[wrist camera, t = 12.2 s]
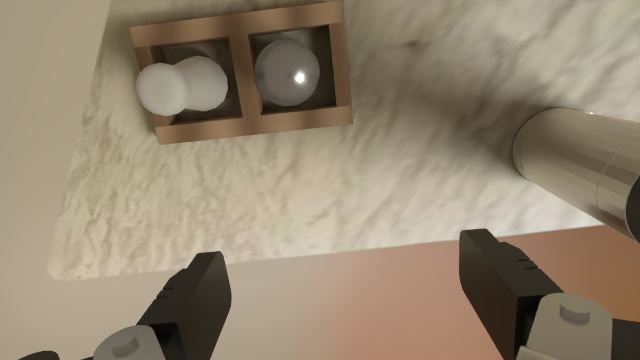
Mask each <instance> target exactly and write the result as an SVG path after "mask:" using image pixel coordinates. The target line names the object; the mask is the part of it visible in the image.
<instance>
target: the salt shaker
mask: <svg viewBox="0 0 640 360" xmlns="http://www.w3.org/2000/svg"><path fill="white" fill-rule="evenodd" d="M135 88H136V93H137V97H138V99H139V100H140V102H141V103H142V105H143V107H145V108H146V109H147V110H149V111H150V112H152V113H153V114H158V115H163V116H170V115H174V114H177V113H180V112H181V111H182V110H183V109H184V108H185V109H192V110H198V111H207V110H211V109H214V108H216V107H217V106H218V105H219V104H221V103H222V102H223V101H224V99H225V96H226V93H227V90H228V83H227V76H226V74H225V73H224V71H223V69H222V68H221V66H220V65H218V64H217V63H216V62H214V61H213V60H212V59H210V58H207V57H202V56H194V57H190V58H187V59H184V60H182V61H180V62H178V63H177V64H175V65H170V64H165V63H157V64H153V65H149V66H147V67H145V68H144V69H143V70H142V71H141V72H140V73H139V74H138V77H137V81H136V84H135Z"/></svg>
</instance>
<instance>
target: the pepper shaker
mask: <svg viewBox="0 0 640 360" xmlns="http://www.w3.org/2000/svg"><path fill="white" fill-rule="evenodd" d="M319 77H320V64H319V61H318V59H317V57H316V56H315V54H314V53H313V52H312V51H311V50H310V49H308V48H307V47H306V46H305V45H303V44H302V43H300V42H297V41H295V40H290V39H282V40H277V41H274V42H272V43H270V44H269V45H267V46H266V47H265V48H264V49H263V50H262V51H261V53H260V54H259V56H258V58H257V61H256V64H255V79H256V83H257V86H258V88H259V90H260V91H261V93H262V94H263V95H264V96H265V97H266V98H267V99H268V100H270V101H271V102H273V103H275V104H278V105H282V106H294V105H297V104H300V103H302V102H304V101H305V100H307V99H308V98H309V97H310V96H311V95H312V93H313V92H314V90H315V88H316V86H317V83H318V80H319Z"/></svg>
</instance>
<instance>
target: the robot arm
mask: <svg viewBox="0 0 640 360" xmlns="http://www.w3.org/2000/svg"><path fill="white" fill-rule="evenodd" d="M512 155H513V161H514V165H515V167H516V168H517V170H518V172H519V173H520V174H521V175H522V176H523V177H525V178H527V179H528V180H530V181H532V182H533V183H535V184H537V185H539V186H540V187H542V188H543V189H545V190H547V191H548V192H550V193H552V194H554V195H555V196H557V197H559V198H560V199H562V200H564V201H566V202H567V203H569V204H571V205H573V206H574V207H576V208H578V209H579V210H581V211H583V212H585V213H586V214H588V215H590V216H592V217H593V218H595V219H597V220H598V221H600V222H602V223H604V224H605V225H607V226H609V227H611V228H612V229H614V230H616V231H618V232H619V233H621V234H623V235H625V236H626V237H628V238H630V239H632V240H633V241H635V242H637V243H638V244H640V123H638V122H633V121H628V120H623V119H617V118H612V117H607V116H602V115H597V114H592V113H587V112H582V111H577V110H572V109H566V108H553V109H548V110H545V111H542V112H540V113H538V114H536V115H534V116H533V117H532V118H531V119H529V120H528V121H527V122H526V123H525V124H524V125H523V126H522V127H521V129H520V130H519V132H518V134H517V135H516V138H515V140H514V143H513V149H512ZM459 247H460V248H459V276H460V282H461V286H462V289H463V291H464V293H465V295H466V296H467V298H468V300H469V301H470V303H471V305H472V306H473V308H474V310H475V312H476V313H477V315H478V317H479V318H480V320H481V322H482V323H483V325H484V327H485V329H486V330H487V332H488V334H489V335H490V337H491V339H492V340H493V342H494V344H495V346H496V347H497V349H498V351H499V352H500V354H501V356H502V357H503V359H504V360H640V322H635V321H627V320H619V319H613V318H612V317H611V315H610V314H609V312H608V311H607V310H606V309H605V308H603V307H602V306H601V305H599V304H598V303H596V302H594V301H592V300H590V299H588V298H585V297H582V296H579V295H574V294H569V293H564V292H563V291H562V290H561V289H560V288H559V287H558V286H557V285H556V284H555V283H554V282H553V281H552V280H551V279H550V278H549V277H548V276H547V275H546V274H545V273H544V272H543V271H542V270H541V269H538V266H537V265H535V263H534V262H533V261H530V258H529V257H528V256H527V255H526V254H525V253H523V252H522V251H521V250H520V249H519V248H517V247H514V246H513V245H510V244H508V243H507V242H499V241H498V240H497V239H496V238H495V237H494V236H493V235H492V234H491V233H490V232H489V231H488V230H487V229H485V228H484V229H473V230H462V231H461V233H460V242H459ZM156 298H157V299H155V300H154V301H153V302H152V304H151V305H150V306H149V308H148V309H147V310H146V312H145V313H144V315H143V316H142V317H141V319H140V320H139V321H138V323H137V324H136V326H131V327H127V328H125V329H122V330H120V331H118V332H116V333H114V334H112V335H111V336H109V337H108V338H107V339H105V340H104V341H103V342H102V343H101V344H100V345H99V346H98V347H97V349H96V350H95V352H94V355H93V356H92V357H89V358H86V359H82V360H210V358H211V355H212V353H213V350H214V348H215V345H216V343H217V340H218V338H219V335H220V333H221V330H222V328H223V325H224V323H225V320H226V318H227V315H228V313H229V310H230V307H231V288H230V284H229V279H228V275H227V270H226V265H225V261H224V257H223V254H222V253H221V252H220V251H216V252H205V253H198V254H197V255H196V256H195V257H194V259H193V260H192V262H191V263H190V265H189V266H188V268H186V269H182V270H180V271H179V272H178V273H177V274H176V275H174V276H173V277H171V278H170V279H169V280H168V282H167V283H166V285H165V286H164V287H163V290H162V291H160V293H159V294H158V295H157V297H156ZM19 360H60V359H59V356H58V354H57V353H56V352H53V351H41V352H37V353H33V354H30V355H28V356H25V357H23V358H21V359H19Z"/></svg>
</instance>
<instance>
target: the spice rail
mask: <svg viewBox="0 0 640 360" xmlns="http://www.w3.org/2000/svg"><path fill="white" fill-rule="evenodd" d="M322 27H329V36H330V46H331V57H332V67H333V78H334V88H335V98H336V104H333V105H324V106H315V107H306V108H297V109H288V110H279V111H270V112H265V108H264V102H263V96H262V93H261V91H260V90H259V88H258V86H257V83H256V79H255V64H256V61H257V58H256V51H255V45H254V39H253V36H256V35H265V34H273V33H281V32H289V31H297V30H305V29H314V28H322ZM129 29H130V33H131V37H132V41H133V45H134V49H135V53H136V57H137V60H138V64H139V68H140V72H141V71H142V70H143V69H144V68H145V67H147V66H149V65H153V64H157V63H165V59H164V55H163V51H162V47H167V46H175V45H183V44H191V43H199V42H207V41H216V40H224V39H229V43H230V48H231V54H232V60H233V65H234V71H235V76H236V82H237V88H238V93H239V99H240V104H241V110H242V115H235V116H226V117H217V118H208V119H199V120H190V121H181V122H179V119H178V115H177V114H174V115H170V116H163V115H158V114H153V113H152V112H151V115H152V119H153V123H154V127H155V131H156V134H157V138H158V142H159V145H164V144H173V143H182V142H191V141H200V140H210V139H219V138H228V137H237V136H246V135H255V134H265V133H274V132H283V131H292V130H301V129H310V128H320V127H329V126H338V125H347V124H353V117H352V105H351V93H350V81H349V69H348V57H347V45H346V33H345V21H344V9H343V0H340V1H333V2H325V3H317V4H309V5H301V6H293V7H285V8H277V9H269V10H261V11H253V12H245V13H237V14H229V15H221V16H213V17H206V18H198V19H190V20H182V21H174V22H166V23H158V24H150V25H142V26H134V27H129ZM165 64H166V63H165Z"/></svg>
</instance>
